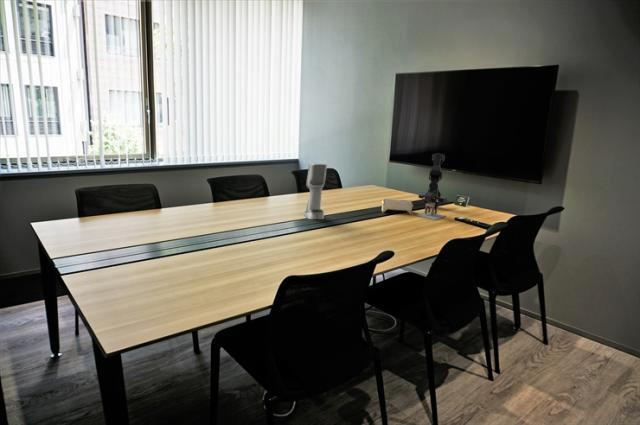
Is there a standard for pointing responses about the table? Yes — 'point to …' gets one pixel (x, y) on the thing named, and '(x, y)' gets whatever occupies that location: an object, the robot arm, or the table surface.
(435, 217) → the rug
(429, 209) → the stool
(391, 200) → the toy sofa
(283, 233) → the table surface
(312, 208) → the thermal camera
